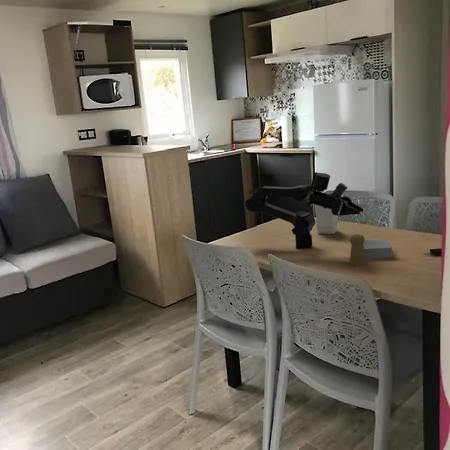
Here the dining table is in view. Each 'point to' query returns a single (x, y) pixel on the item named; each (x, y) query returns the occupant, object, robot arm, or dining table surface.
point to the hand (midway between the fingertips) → (361, 211)
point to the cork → (357, 250)
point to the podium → (377, 249)
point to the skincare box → (325, 221)
